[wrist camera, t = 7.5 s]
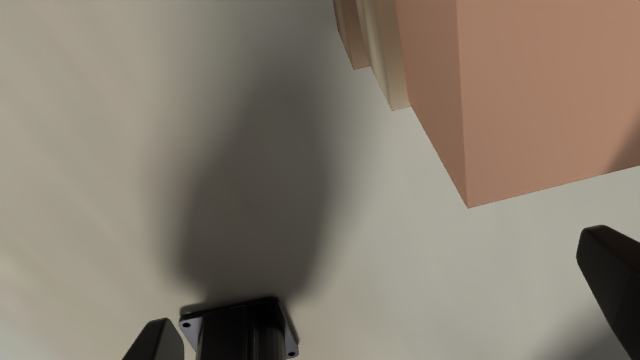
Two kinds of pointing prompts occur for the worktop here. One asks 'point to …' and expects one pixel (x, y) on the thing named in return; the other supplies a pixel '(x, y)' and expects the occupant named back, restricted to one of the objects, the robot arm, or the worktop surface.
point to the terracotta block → (524, 89)
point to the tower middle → (384, 48)
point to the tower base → (350, 32)
